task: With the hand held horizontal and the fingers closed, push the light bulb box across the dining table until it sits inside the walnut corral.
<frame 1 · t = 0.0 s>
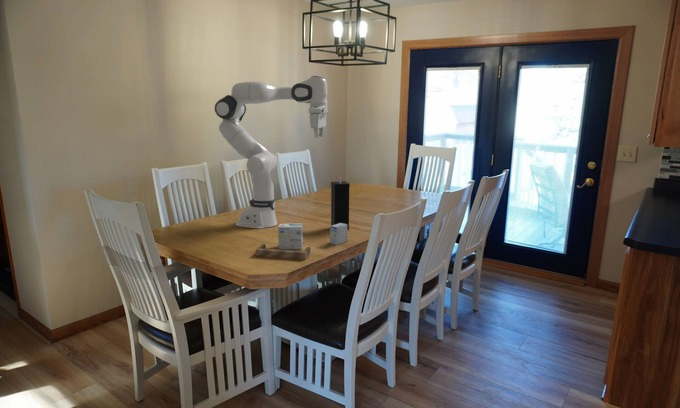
hand: (318, 137, 225), 48 cm above the table, tool pointing down, fingers open, 8 cm apart
walnut corral: (281, 257, 188), on the table
light bulb box: (290, 248, 201), on the table
long black box: (339, 229, 233), on the table
medicine box: (338, 243, 209), on the table
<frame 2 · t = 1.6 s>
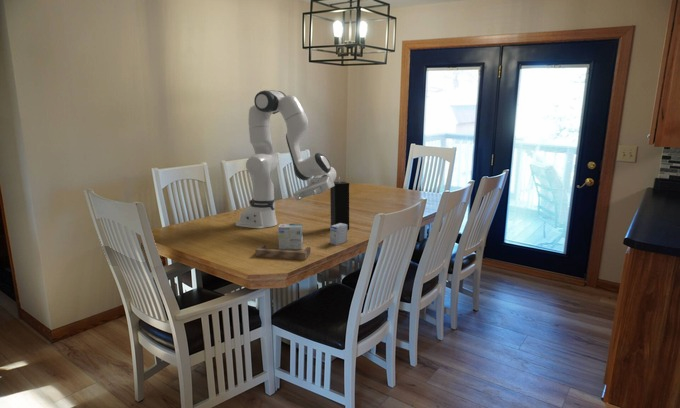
hand: (305, 195, 207), 22 cm above the table, tool horizontal, fingers open, 8 cm apart
long black box: (339, 229, 233), on the table, touching arm
everything else where it was.
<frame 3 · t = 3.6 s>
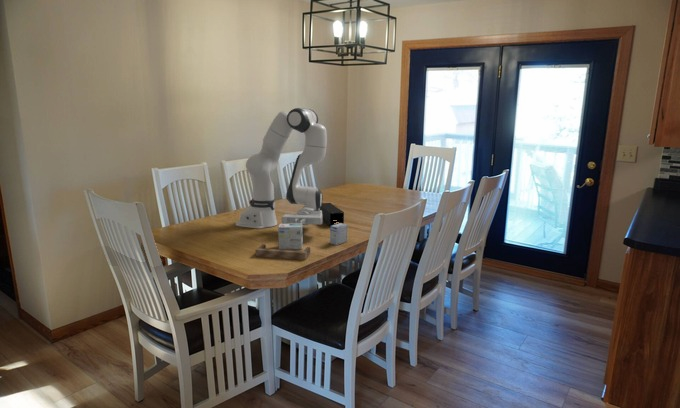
hand: (298, 223, 208), 9 cm above the table, tool horizontal, fingers closed
long black box: (337, 219, 236), point 4 cm above the table
everything else where it was.
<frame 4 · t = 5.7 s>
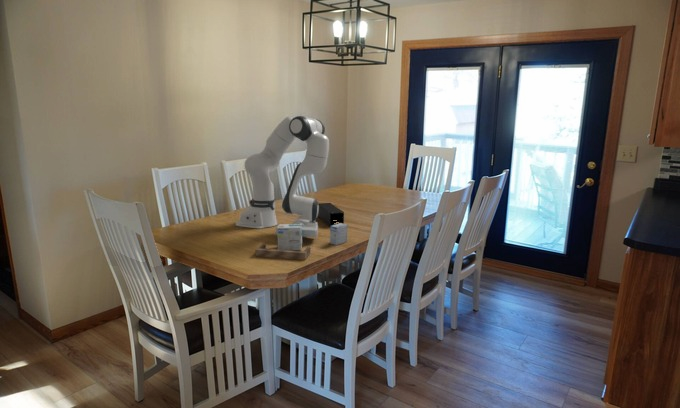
hand: (292, 235, 203), 5 cm above the table, tool horizontal, fingers closed
light bulb box: (290, 248, 200), on the table, touching gripper
everything else where it was.
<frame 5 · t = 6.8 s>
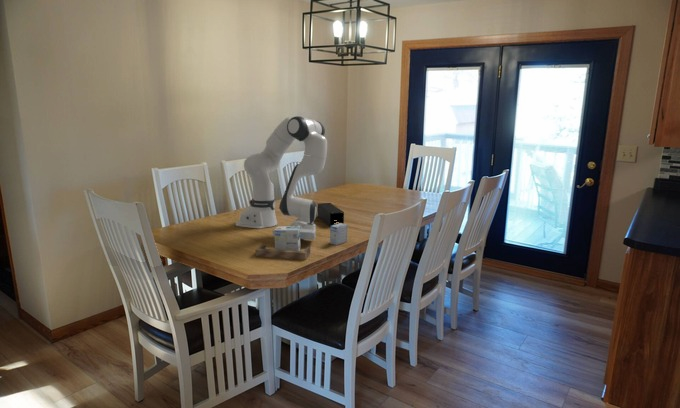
hand: (289, 237, 199), 5 cm above the table, tool horizontal, fingers closed
light bulb box: (287, 251, 197), on the table, touching gripper
everything else where it was.
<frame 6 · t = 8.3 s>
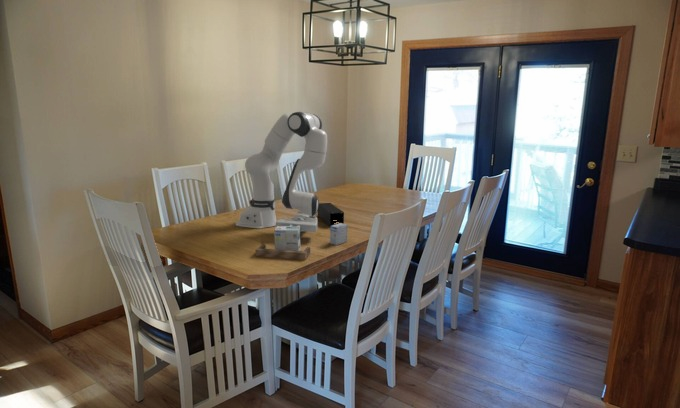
hand: (292, 229, 205), 7 cm above the table, tool horizontal, fingers closed
light bulb box: (287, 251, 197), on the table
everything else where it was.
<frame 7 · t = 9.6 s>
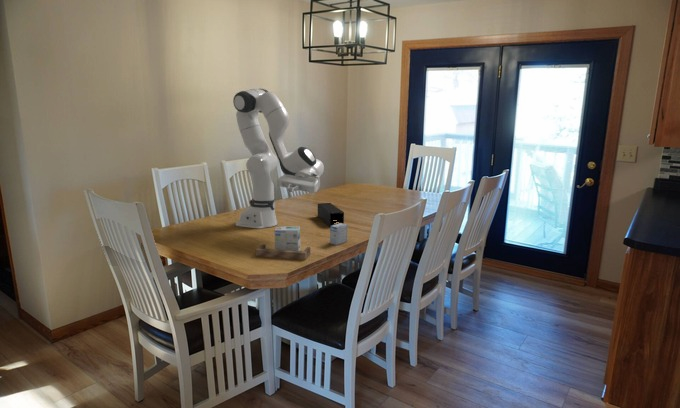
hand: (289, 190, 203), 25 cm above the table, tool tilted 75°, fingers closed
nothing on the table moved.
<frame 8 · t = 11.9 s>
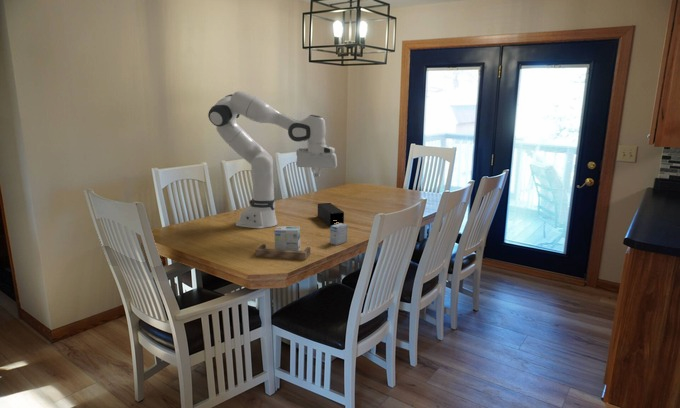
hand: (316, 176, 219), 29 cm above the table, tool pointing down, fingers closed
nothing on the table moved.
at the end: light bulb box inside the target area (2.9 cm from its centre), on the table; light bulb box tilted 0°; light bulb box moved 5.1 cm from its start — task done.
